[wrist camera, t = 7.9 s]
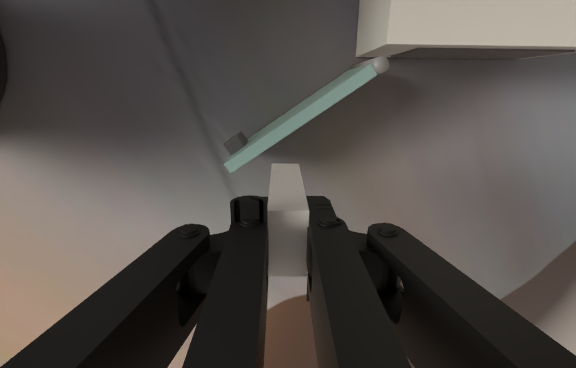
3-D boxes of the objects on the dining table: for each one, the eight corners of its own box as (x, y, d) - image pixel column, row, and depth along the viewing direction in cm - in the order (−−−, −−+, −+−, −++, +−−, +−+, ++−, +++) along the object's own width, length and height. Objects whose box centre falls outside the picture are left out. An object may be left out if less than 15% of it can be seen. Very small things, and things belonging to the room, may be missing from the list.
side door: (352, 52, 26) (377, 39, 19) (363, 72, 26) (392, 67, 19) (232, 135, 28) (214, 152, 21) (245, 152, 28) (231, 174, 21)
